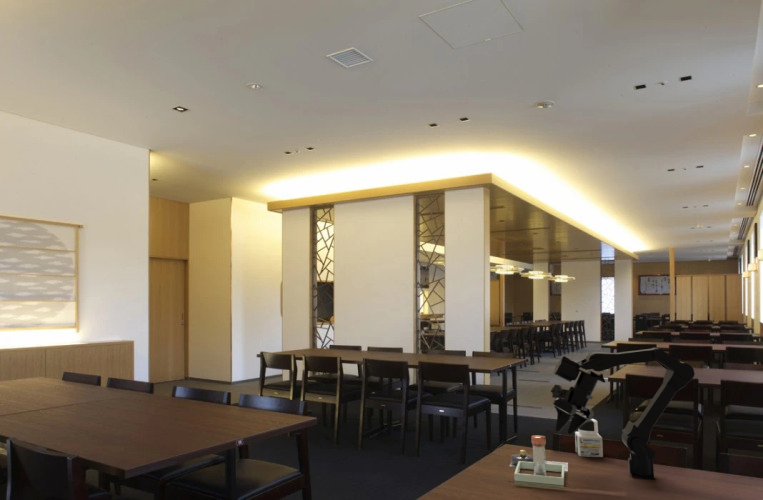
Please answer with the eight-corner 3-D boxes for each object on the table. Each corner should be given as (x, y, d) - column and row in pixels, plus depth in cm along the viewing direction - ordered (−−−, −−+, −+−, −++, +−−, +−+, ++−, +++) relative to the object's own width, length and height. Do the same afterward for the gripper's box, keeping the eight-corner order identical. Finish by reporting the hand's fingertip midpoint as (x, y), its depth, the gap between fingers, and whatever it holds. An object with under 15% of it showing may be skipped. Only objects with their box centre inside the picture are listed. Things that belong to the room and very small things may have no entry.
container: (579, 459, 187) (578, 420, 188) (575, 453, 194) (574, 416, 196) (603, 460, 186) (601, 421, 187) (598, 454, 193) (596, 416, 194)
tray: (564, 474, 170) (564, 464, 170) (563, 488, 156) (563, 478, 157) (518, 470, 174) (518, 461, 175) (514, 484, 161) (514, 473, 161)
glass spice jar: (544, 474, 168) (542, 435, 169) (549, 478, 164) (547, 438, 165) (531, 475, 167) (529, 435, 169) (536, 479, 163) (534, 438, 164)
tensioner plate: (568, 465, 179) (567, 450, 180) (567, 474, 170) (567, 458, 170) (512, 461, 185) (512, 446, 186) (509, 469, 176) (509, 453, 176)
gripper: (573, 381, 186) (554, 422, 186) (549, 372, 173) (529, 416, 173) (603, 397, 178) (583, 439, 178) (580, 389, 165) (559, 435, 165)
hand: (563, 432), depth 174 cm, fingers open, 9 cm apart
